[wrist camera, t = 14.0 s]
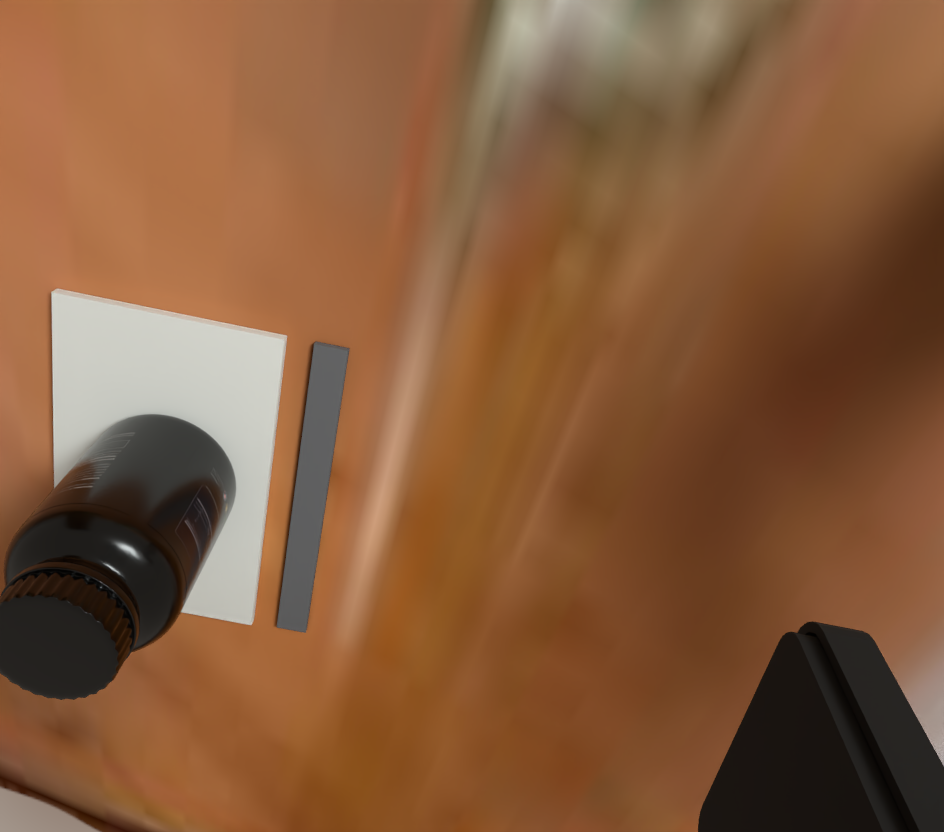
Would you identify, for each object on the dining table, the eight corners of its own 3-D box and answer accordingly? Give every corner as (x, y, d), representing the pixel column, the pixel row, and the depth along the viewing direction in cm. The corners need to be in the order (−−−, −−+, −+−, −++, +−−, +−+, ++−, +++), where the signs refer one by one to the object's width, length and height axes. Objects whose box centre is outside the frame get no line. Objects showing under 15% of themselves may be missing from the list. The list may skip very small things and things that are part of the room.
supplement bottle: (101, 527, 42) (-39, 711, 31) (89, 400, 39) (-71, 556, 28) (242, 542, 42) (150, 732, 32) (241, 417, 39) (139, 580, 29)
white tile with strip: (349, 348, 38) (347, 352, 38) (306, 628, 45) (304, 635, 45) (57, 288, 37) (51, 291, 37) (60, 582, 44) (55, 588, 44)
